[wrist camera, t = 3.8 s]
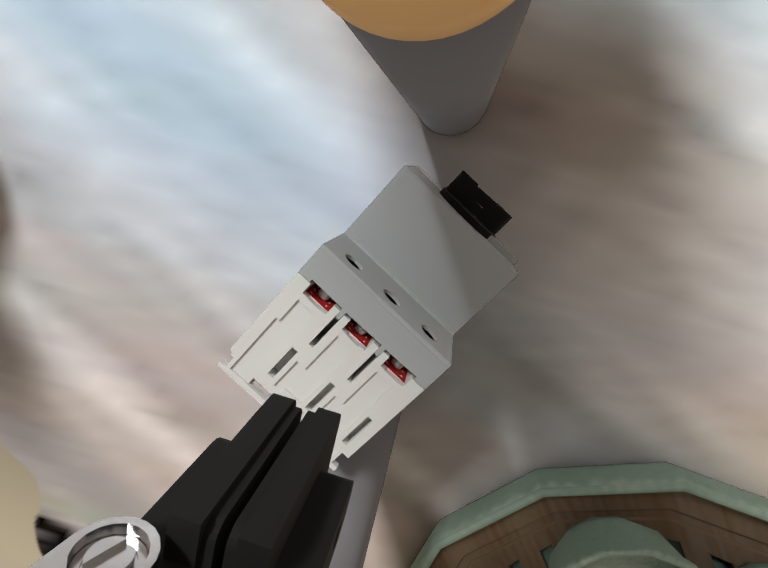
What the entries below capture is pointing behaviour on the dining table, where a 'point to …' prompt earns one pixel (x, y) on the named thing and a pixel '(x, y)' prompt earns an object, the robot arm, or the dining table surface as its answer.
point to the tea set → (605, 522)
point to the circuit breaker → (379, 306)
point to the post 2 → (438, 51)
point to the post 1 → (362, 494)
